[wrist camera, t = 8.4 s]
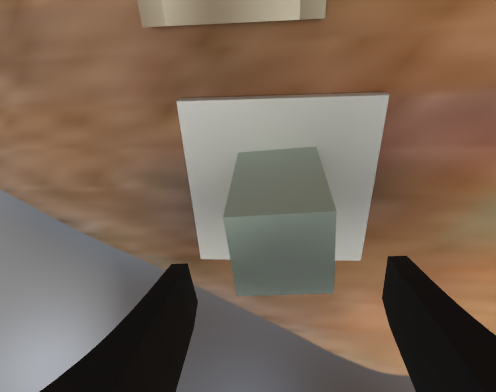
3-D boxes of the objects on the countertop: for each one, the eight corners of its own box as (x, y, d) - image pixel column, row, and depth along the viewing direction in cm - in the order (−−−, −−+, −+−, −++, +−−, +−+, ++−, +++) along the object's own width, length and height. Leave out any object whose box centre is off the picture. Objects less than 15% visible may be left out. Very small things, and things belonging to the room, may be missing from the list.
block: (316, 146, 16) (336, 211, 11) (316, 212, 18) (333, 293, 13) (238, 152, 17) (222, 217, 12) (246, 216, 19) (236, 296, 14)
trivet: (385, 92, 15) (389, 95, 15) (358, 254, 20) (360, 260, 20) (179, 98, 16) (176, 101, 16) (202, 252, 21) (200, 259, 21)
